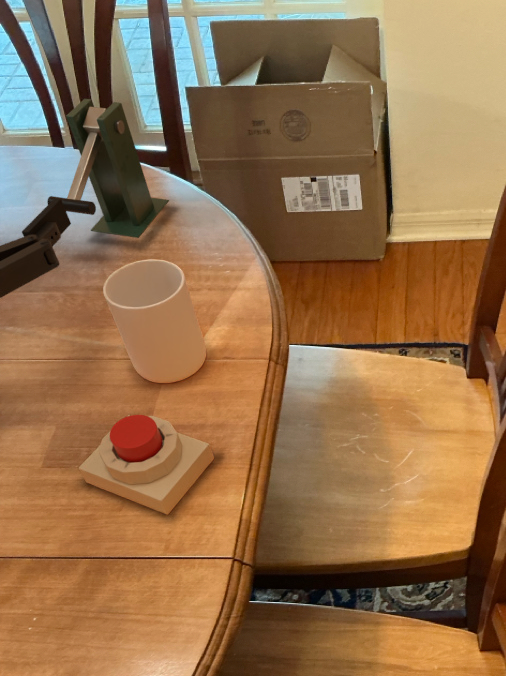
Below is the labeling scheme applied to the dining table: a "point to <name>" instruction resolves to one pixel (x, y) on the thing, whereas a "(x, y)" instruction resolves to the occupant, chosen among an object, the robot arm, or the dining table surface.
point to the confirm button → (136, 438)
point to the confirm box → (150, 469)
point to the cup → (156, 320)
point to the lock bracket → (116, 173)
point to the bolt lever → (84, 166)
